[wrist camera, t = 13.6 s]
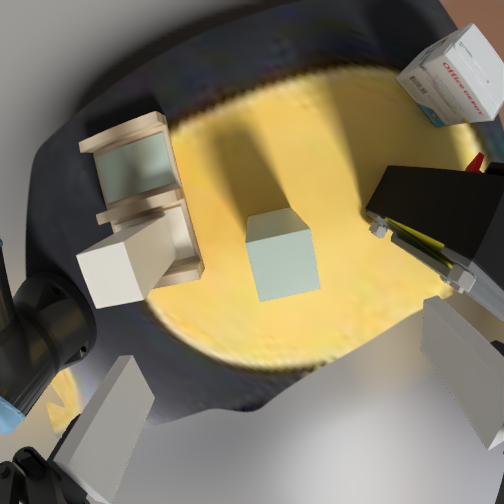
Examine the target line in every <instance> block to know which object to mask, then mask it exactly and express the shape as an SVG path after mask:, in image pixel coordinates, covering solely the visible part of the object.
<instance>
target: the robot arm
mask: <svg viewBox="0 0 504 504" xmlns="http://www.w3.org/2000/svg"><path fill="white" fill-rule="evenodd" d="M2 245H3V242H2V240H1V239H0V434H9V433H11V432H13V430H14V429H15V428H16V427H17V426H18V425H19V423H20V422H21V421H22V420H24V419H25V417H26V416H27V414H28V413H29V411H30V410H31V409H32V407H33V406H34V404H35V403H36V401H37V400H38V399H39V397H40V396H41V395H42V393H43V392H44V390H45V389H46V388H47V386H48V385H49V384H50V382H51V381H52V380H53V378H54V377H55V376H56V374H57V373H58V372H59V371H61V370H63V369H65V368H67V367H69V366H71V365H73V364H75V363H77V362H79V361H81V360H83V359H84V358H85V357H86V356H87V354H88V353H89V352H90V351H91V349H92V348H93V346H94V344H95V341H96V324H95V320H94V316H93V314H92V311H91V309H90V307H89V305H88V303H87V301H86V300H85V298H84V297H83V295H82V294H81V293H80V292H79V290H78V289H77V288H76V287H75V286H74V285H73V284H72V283H71V282H69V281H68V280H67V279H65V278H64V277H62V276H60V275H58V274H56V273H53V272H49V271H41V272H38V273H36V274H34V275H32V276H31V277H29V278H28V279H26V280H25V281H24V282H23V283H22V285H21V286H20V288H19V289H18V291H17V292H16V294H15V296H14V297H13V299H12V295H11V291H10V287H9V283H8V279H7V274H6V269H5V264H4V258H3V253H2ZM420 350H421V352H422V353H423V354H424V356H425V357H426V359H427V360H428V361H429V363H430V364H431V366H432V367H433V368H434V370H435V371H436V373H437V374H438V375H439V377H440V378H441V380H442V381H443V383H444V384H445V385H446V387H447V388H448V390H449V391H450V393H451V394H452V396H453V397H454V399H455V400H456V402H457V403H458V404H459V406H460V408H461V409H462V411H463V412H464V414H465V415H466V417H467V418H468V420H469V422H470V423H471V425H472V426H473V428H474V430H475V431H476V433H477V435H478V436H479V438H480V439H481V441H482V443H483V444H484V446H485V448H486V449H487V451H488V450H489V449H491V448H493V447H495V446H496V445H498V444H499V443H501V442H502V441H503V440H504V344H503V343H501V342H499V341H497V340H495V341H493V342H491V343H489V342H488V341H487V340H486V339H485V338H484V337H483V336H482V335H481V334H480V333H479V332H478V331H477V330H476V329H475V328H473V327H472V326H471V325H470V324H469V323H468V322H467V321H466V320H465V319H464V318H463V317H461V316H460V315H459V314H458V313H457V312H456V311H455V310H454V309H453V308H452V307H450V306H449V305H448V304H447V303H446V302H445V301H444V300H442V299H441V298H440V297H439V296H438V295H437V296H434V297H431V298H428V299H425V300H424V302H423V324H422V339H421V349H420ZM154 399H155V397H154V396H153V394H152V392H151V390H150V388H149V386H148V385H147V383H146V381H145V379H144V377H143V375H142V373H141V371H140V369H139V367H138V365H137V363H136V361H135V359H134V357H133V355H128V356H119V357H118V359H117V360H116V362H115V363H114V365H113V366H112V368H111V369H110V371H109V372H108V374H107V375H106V377H105V378H104V380H103V381H102V383H101V384H100V386H99V387H98V389H97V390H96V392H95V393H94V395H93V396H92V398H91V400H90V401H89V403H88V404H87V406H86V407H85V409H84V410H83V412H82V414H79V415H78V416H76V417H75V418H74V419H73V420H72V421H71V422H70V424H69V425H68V427H67V429H66V431H65V432H64V433H63V435H62V438H60V440H59V441H58V443H57V445H56V446H55V448H54V450H53V451H52V453H51V455H50V456H49V458H48V459H47V461H45V459H44V458H43V457H41V455H40V454H39V453H38V452H37V451H36V450H35V449H34V448H33V447H29V446H28V447H24V448H21V449H20V450H18V451H17V452H16V453H15V455H14V457H13V461H12V462H10V461H5V462H2V463H0V504H19V501H20V502H21V503H22V504H90V503H89V501H88V500H87V499H86V496H87V494H89V495H90V496H91V497H92V498H94V499H95V500H96V501H99V502H103V503H107V504H112V503H113V500H114V497H115V495H116V492H117V490H118V487H119V485H120V482H121V479H122V477H123V474H124V472H125V469H126V467H127V464H128V462H129V459H130V457H131V454H132V452H133V449H134V447H135V444H136V442H137V440H138V437H139V435H140V432H141V430H142V427H143V425H144V423H145V420H146V418H147V416H148V413H149V411H150V408H151V406H152V404H153V401H154ZM503 454H504V452H503ZM495 504H504V475H503V478H502V482H501V486H500V489H499V493H498V496H497V499H496V502H495Z"/></svg>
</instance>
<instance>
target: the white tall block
mask: <svg viewBox="0 0 504 504" xmlns="http://www.w3.org/2000/svg"><path fill="white" fill-rule="evenodd" d="M177 256H178V255H177V252H176V249H175V245H174V242H173V238H172V235H171V232H170V228H169V225H168V221H167V218H166V215H165V216H161V217H158V218H154V219H151V220H147V221H144V222H140V223H137V224H134V225H130V226H128V227H126V228H124V229H122V230H120V231H118V232H116V233H115V234H113V235H111V236H109V237H107V238H106V239H104V240H102V241H100V242H98V243H97V244H95V245H93V246H91V247H90V248H88V249H86V250H85V251H83V252H81V253H79V254H78V255H76V257H77V259H78V262H79V265H80V268H81V271H82V273H83V276H84V279H85V281H86V284H87V287H88V289H89V292H90V294H91V297H92V299H93V301H94V304H95V306H96V309H97V308H102V307H108V306H113V305H119V304H124V303H130V302H135V301H140V300H144V299H145V297H146V296H147V295H148V294H149V292H150V291H151V290H152V288H153V287H154V286H155V284H156V283H157V282H158V281H159V279H160V278H161V277H162V275H163V274H164V273H165V272H166V270H167V269H168V268H169V266H170V265H171V264H172V263H173V261H174V260H175V259H176V258H177Z"/></svg>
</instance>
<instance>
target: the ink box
mask: <svg viewBox="0 0 504 504" xmlns="http://www.w3.org/2000/svg"><path fill="white" fill-rule="evenodd" d="M396 81H397V82H398V83H399V84H400V85H401V86H402V87H403V88H404V89H405V90H406V92H407V93H408V94H409V95H410V96H411V97H412V98H413V100H414V101H415V102H416V103H417V104H418V105H419V107H420V108H421V109H422V110H423V112H424V113H425V114H426V115H427V116H428V118H429V119H430V120H431V122H432V123H433V124H434V126H435V127H441V126H448V125H455V124H462V123H471V122H480V121H492V120H494V119H495V117H496V115H497V114H498V112H499V110H500V109H501V107H502V105H503V103H504V63H503V62H502V61H501V59H500V58H499V56H498V55H497V53H496V52H495V50H494V49H493V48H492V46H491V45H490V44H489V42H488V41H487V40H486V38H485V37H484V36H483V35H482V33H481V32H480V31H479V29H478V28H477V27H476V26H475V25H474V24H473V23H470V24H468V25H466V26H464V27H463V28H461V29H459V30H457V31H455V32H453V33H451V34H450V35H448V36H446V37H444V38H443V39H441V40H439V41H438V42H436V43H434V44H433V45H431V46H429V47H427V48H426V49H424V50H423V51H422V52H421V53H420V54H419V55H418V56H417V57H416V58H415V59H414V60H413V61H412V62H411V63H410V64H409V65H408V66H407V67H406V68H405V69H404V70H403V71H402V72H401V73H400V74H399V75H398V76H397V77H396Z"/></svg>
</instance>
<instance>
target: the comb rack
mask: <svg viewBox="0 0 504 504" xmlns="http://www.w3.org/2000/svg"><path fill="white" fill-rule="evenodd" d="M79 146H80V151H81V152H89V153H93V154H94V159H95V163H96V168H97V172H98V176H99V181H100V185H101V189H102V192H103V196H104V200H105V204H106V207H107V211H105V212H103V213H100V214H97V215H96V217H97V220H98V224H99V225H100V224H103V223H106V222H109V221H111V225H112V228H113V232H114V234H115V233H116V232H118V231H120V230H122V229H124V228H126V227H128V226H130V225H134V224H137V223H140V222H144V221H147V220H151V219H154V218H158V217H161V216H165V215H166V218H167V221H168V225H169V228H170V232H171V235H172V238H173V242H174V245H175V249H176V252H177V255H178V256H177V258H176V259H175V260H174V261H173V263H172V264H171V265H170V266H169V268H168V269H167V270H166V272H165V273H164V274H163V275H162V277H161V278H160V279H159V281H158V282H157V283H156V284H155V286H154V287H153V288H152V289H155V288H160V287H165V286H170V285H175V284H180V283H184V282H189V281H194V280H199V279H200V278H201V276H202V274H203V271H204V269H205V267H204V263H203V260H202V257H201V253H200V250H199V246H198V243H197V239H196V236H195V232H194V228H193V225H192V221H191V217H190V214H189V210H188V206H187V203H186V199H185V195H184V191H183V187H182V183H181V179H180V176H179V172H178V168H177V163H176V159H175V155H174V151H173V147H172V143H171V138H170V134H169V130H168V125H167V121H166V117H165V116H164V115H162V114H161V113H159V112H157V111H154V112H151V113H149V114H146V115H143V116H140V117H138V118H135V119H133V120H130V121H127V122H125V123H122V124H120V125H118V126H115V127H113V128H110V129H108V130H106V131H103V132H101V133H99V134H97V135H94V136H92V137H90V138H88V139H86V140H84V141H82V142H79Z"/></svg>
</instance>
